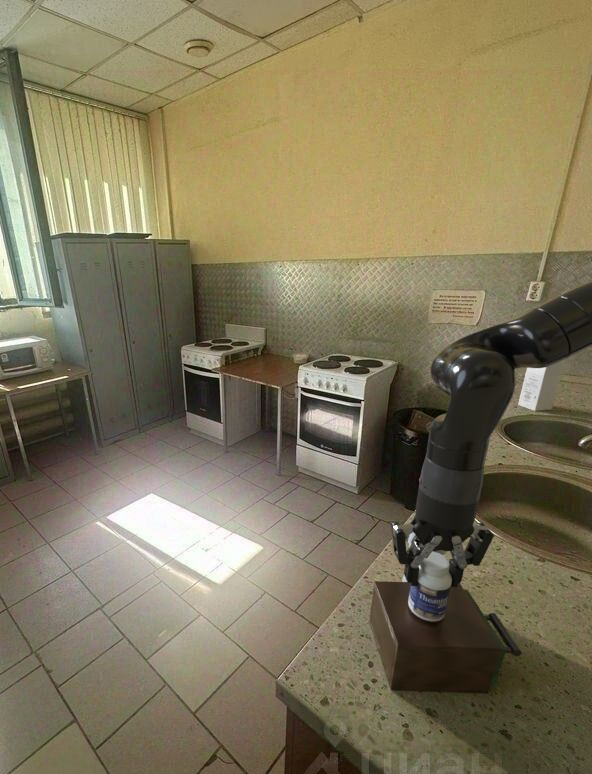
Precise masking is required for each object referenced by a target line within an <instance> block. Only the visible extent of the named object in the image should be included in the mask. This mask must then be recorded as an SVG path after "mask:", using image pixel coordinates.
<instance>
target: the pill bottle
mask: <svg viewBox="0 0 592 774" xmlns="http://www.w3.org/2000/svg"><path fill="white" fill-rule="evenodd" d="M449 566H450V563H449V559H448V558H447V557H446V556H445V555H444V554H443V555H441V554H439V553H436V552H431V554H430V555H429V557H428V558H427V559H426V558H424V559H423V561H422V562H421V564H420V565H419V566H418V567H419V574H418V580H417V585H416V586H411V587H410V593H409V599H408V604H409V607H410V609H411V611H412V612H413V613H414V614H415V615H416V616H418V617H420V618H422V619H424V620H427V621H439V620H441V619H442V618H443V617H444V615H445V612H446V607H447V602H448V598H449V593H450V588H451V584H452V577H451V575H450V573H449V572H448V571H449Z"/></svg>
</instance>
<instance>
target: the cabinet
mask: <svg viewBox="0 0 592 774" xmlns="http://www.w3.org/2000/svg"><path fill="white" fill-rule="evenodd" d="M410 587H411V585H410V583H409V582H402V581H386V580H385V581H383V580H382V581H380V580H379V581H378V580H377V581H376V580H374V582H373V587H372V588H373V589H372V595H371V604H370V612H369V620H368V623H369V625H370V629H371V632H372V635H373V638H374V641H375V645H376V648H377V651H378V654H379V657H380V660H381V661H380V662H381V664H382V668H383V670H384V673H385V677H386V679H387V682H388V686H389V688H390V690H391V691H405V692H406V691H407V692H408V691H409V692H431V693H432V692H434V693H459V694H460V693H461V694H482V695H483V694H485V695H488V694H489V693H490V690H491V687H492V686H491V683H492V679H493V676H494V673H495V669H496V666H497V662H498V659H499V656H500V652H501V647H500V645H499V644H498V642H497V640H496V639H495V637H494V636H493V634H492V633H491V631H490V630H489V628H488V626H487V625H486V623H485V622H484V620H483V619H482V617H481V616H480V614H479V612H478V611H477V609H476V608H475V606H474V605H473V603H472V601H471V600H470V598H469V597H468V595H467V594H466V592H465V591H464V590H465V589H464V588H463V586H462V584H461V583H460V584H458V585H457V587H451V588H450V593H449V598H448V602H447V607H446V612H445V615H444V617H443V618H442V619H441V620H439V621H427V620H424V619H422V618H420V617H418V616H416V615H415V614H414V613H413V612H412V611H411V609H410V607H409V604H408V599H409V593H410Z"/></svg>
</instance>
